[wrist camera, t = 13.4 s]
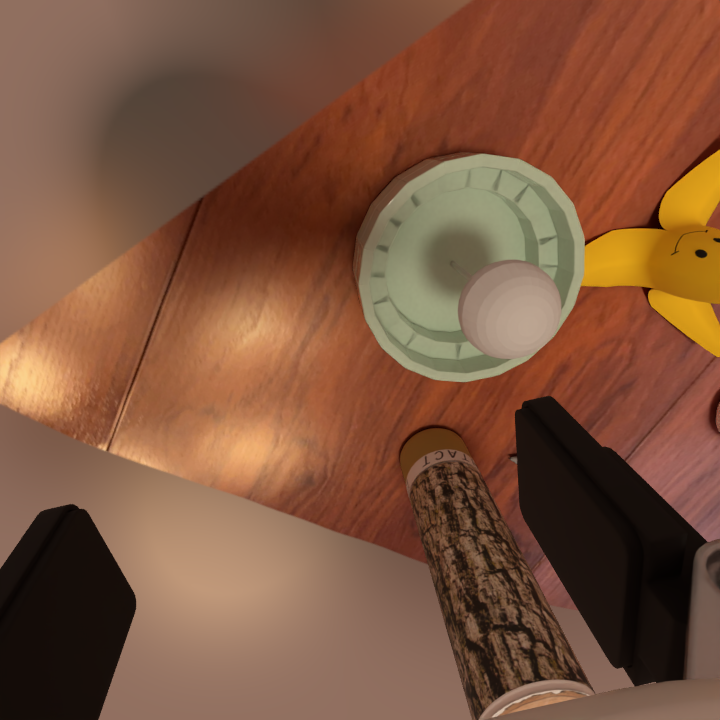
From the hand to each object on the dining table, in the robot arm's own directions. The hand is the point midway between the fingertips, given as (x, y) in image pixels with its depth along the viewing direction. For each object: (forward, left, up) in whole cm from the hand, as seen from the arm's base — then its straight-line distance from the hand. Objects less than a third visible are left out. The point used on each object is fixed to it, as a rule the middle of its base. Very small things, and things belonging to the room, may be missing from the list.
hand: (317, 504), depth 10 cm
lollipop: (+4, +11, -30) cm, 32 cm away
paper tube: (+23, +7, -31) cm, 39 cm away
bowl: (+4, +11, -31) cm, 33 cm away
